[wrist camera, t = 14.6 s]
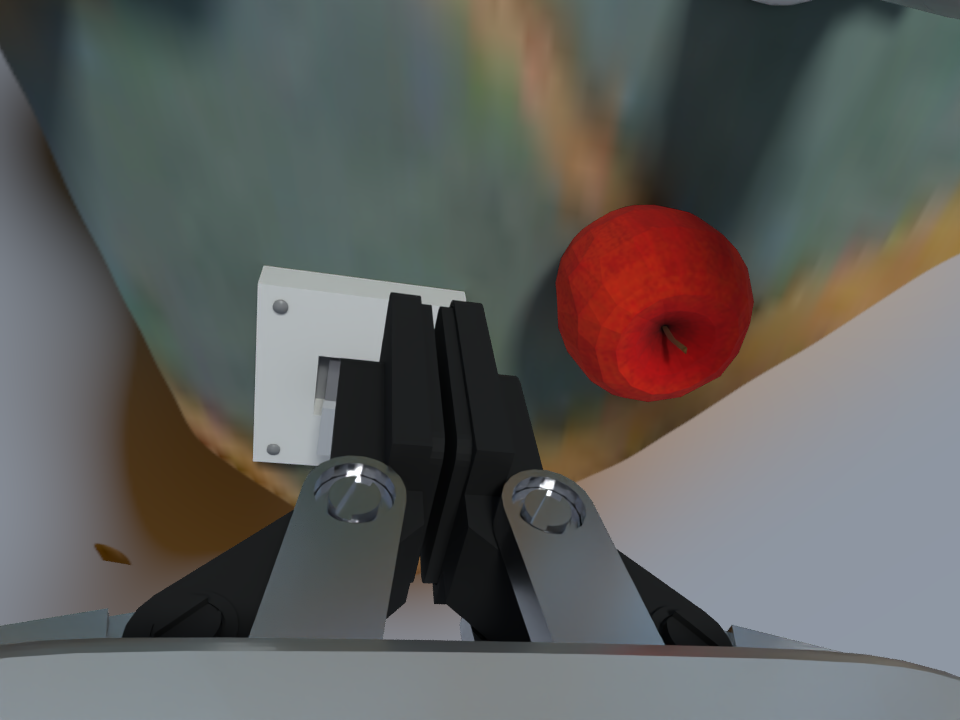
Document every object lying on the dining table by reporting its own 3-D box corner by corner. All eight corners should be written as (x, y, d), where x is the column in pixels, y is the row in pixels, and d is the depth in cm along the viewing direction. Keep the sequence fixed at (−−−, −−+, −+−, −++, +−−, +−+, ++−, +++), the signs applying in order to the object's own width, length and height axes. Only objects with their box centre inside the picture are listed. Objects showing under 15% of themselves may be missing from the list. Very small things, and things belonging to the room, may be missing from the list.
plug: (386, 354, 50) (386, 414, 45) (378, 397, 53) (377, 460, 47) (329, 347, 50) (322, 407, 44) (324, 391, 52) (316, 454, 46)
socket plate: (464, 291, 49) (468, 313, 46) (428, 452, 58) (429, 478, 55) (263, 265, 46) (256, 287, 43) (257, 439, 55) (251, 465, 52)
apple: (642, 336, 53) (707, 454, 42) (506, 293, 49) (540, 411, 38) (728, 202, 47) (829, 299, 36) (581, 142, 43) (645, 231, 32)
